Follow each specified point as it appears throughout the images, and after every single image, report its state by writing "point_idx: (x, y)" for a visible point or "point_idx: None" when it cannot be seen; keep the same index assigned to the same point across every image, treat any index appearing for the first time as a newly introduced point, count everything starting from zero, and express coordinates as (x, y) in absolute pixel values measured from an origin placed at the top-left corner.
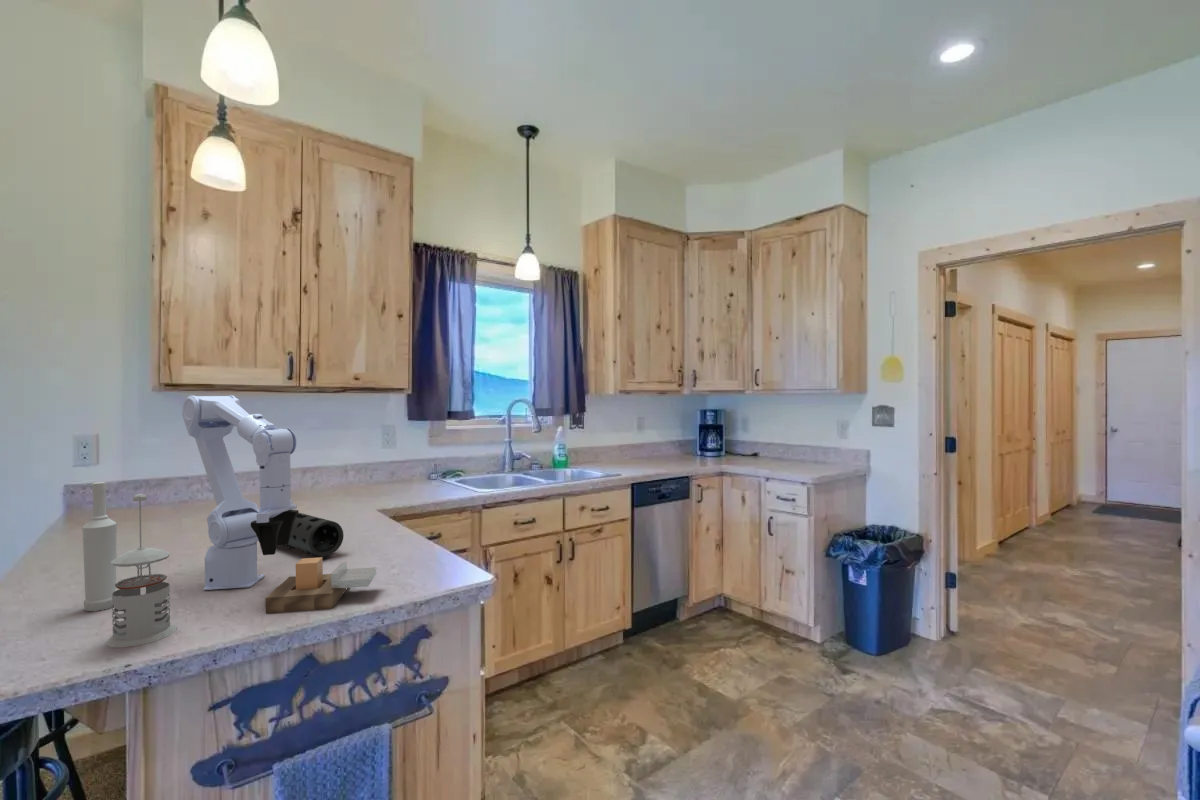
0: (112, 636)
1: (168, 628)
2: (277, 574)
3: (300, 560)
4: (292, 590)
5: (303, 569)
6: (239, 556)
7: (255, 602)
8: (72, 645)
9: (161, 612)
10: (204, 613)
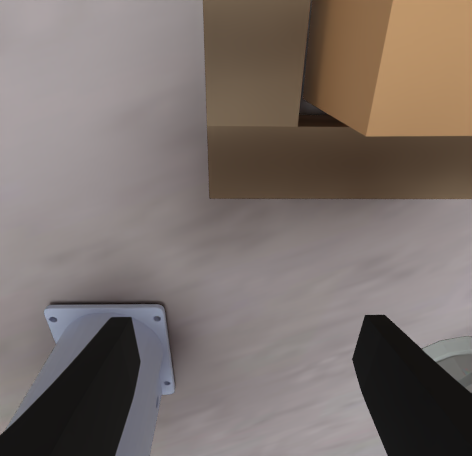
0: None
1: (469, 352)
2: (17, 276)
3: (423, 129)
4: None
5: None
6: (131, 426)
7: (312, 243)
8: None
9: None
10: (357, 328)
